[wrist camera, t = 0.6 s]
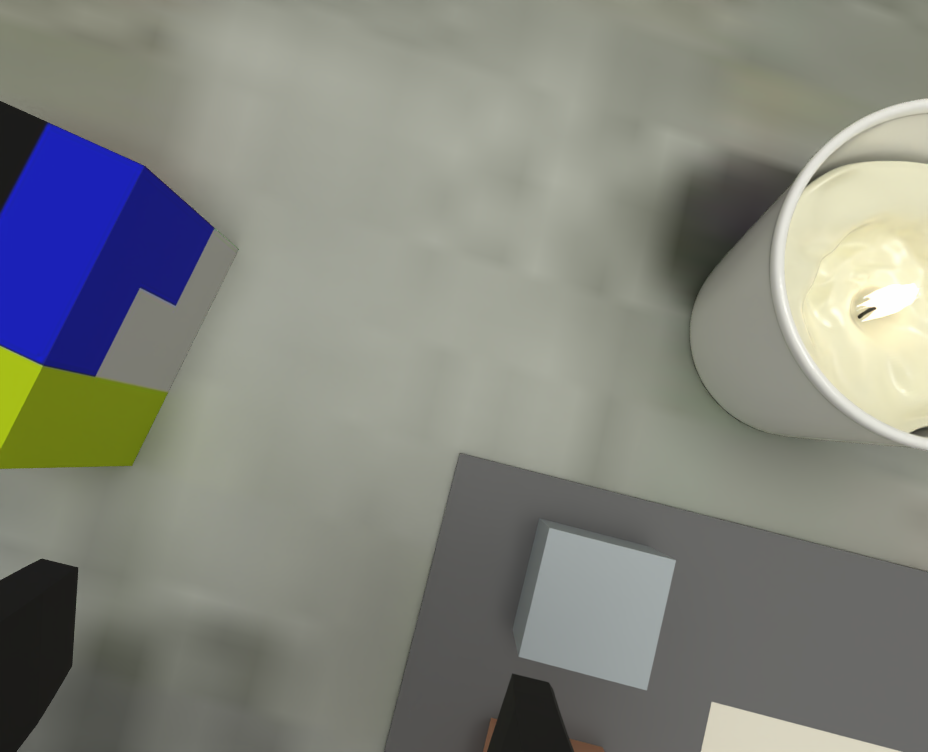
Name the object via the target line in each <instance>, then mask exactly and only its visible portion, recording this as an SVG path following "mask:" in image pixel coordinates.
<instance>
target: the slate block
mask: <svg viewBox="0 0 928 752" xmlns="http://www.w3.org/2000/svg"><path fill="white" fill-rule="evenodd" d="M675 563H676V560H674V559H672V558H670V557H668V556H666V555H664V554H663V553H661V552H659V551H657V550H655V549H653V548H651V547H649V546H645V545H641V544H637V543H633V542H630V541H626V540H622V539H618V538H614V537H610V536H606V535H602V534H598V533H594V532H591V531H587V530H583V529H579V528H575V527H571V526H567V525H563V524H559V523H555V522H552V521H548V520H544V519H540V518H539V522H538V526H537V530H536V534H535V538H534V542H533V546H532V551H531V555H530V559H529V563H528V567H527V571H526V575H525V580H524V584H523V588H522V592H521V596H520V600H519V604H518V609H517V613H516V617H515V621H514V625H513V634H514V638H515V643H516V647H517V652H518V656H519V657H522V658H525V659H529V660H533V661H537V662H541V663H544V664H548V665H552V666H556V667H560V668H563V669H567V670H571V671H575V672H579V673H582V674H586V675H590V676H594V677H598V678H601V679H605V680H609V681H613V682H617V683H620V684H624V685H628V686H632V687H636V688H639V689H643V690H647V687H648V683H649V678H650V674H651V670H652V665H653V661H654V656H655V652H656V647H657V643H658V638H659V634H660V629H661V625H662V621H663V616H664V612H665V607H666V603H667V598H668V594H669V589H670V585H671V580H672V576H673V572H674V567H675Z"/></svg>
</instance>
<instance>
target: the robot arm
mask: <svg viewBox="0 0 928 752" xmlns="http://www.w3.org/2000/svg"><path fill="white" fill-rule="evenodd" d="M77 580H78V567H74V566H70V565H66V564H62V563H57V562H53V561H49V560H45V559H40V560H38V561H36V562H34V563H32V564H30V565H28V566H26V567H24V568H22V569H21V570H19V571H17V572H15V573H13V574H11V575H9V576H7V577H6V578H4V579H2V580H0V752H16V751H17V750H18V749H19V747H20V746H21V745H22V744H23V742H24V741H25V740H26V738H27V737H28V736H29V734H30V733H31V732H32V730H33V729H34V728H35V726H36V725H37V724H38V722H39V720H40V719H41V717H42V716H43V714H44V712H45V711H46V709H47V707H48V706H49V704H50V703H51V701H52V699H53V698H54V696H55V694H56V693H57V691H58V689H59V687H60V686H61V684H62V682H63V681H64V679H65V677H66V675H67V674H68V672H69V670H70V669H71V667H72V659H73V643H74V627H75V612H76V596H77ZM487 752H574V750H573V747H572V744H571V741H570V739H569V736H568V733H567V730H566V728H565V725H564V722H563V719H562V716H561V713H560V710H559V707H558V703H557V700H556V697H555V694H554V690H553V688H552V687H551V685H550V683H549V682H546V681H541V680H537V679H533V678H529V677H525V676H521V675H517V674H513V673H512V676H511V679H510V682H509V685H508V688H507V691H506V694H505V697H504V700H503V703H502V706H501V709H500V713H499V716H498V719H497V722H496V725H495V728H494V731H493V734H492V737H491V740H490V743H489V747H488V750H487Z"/></svg>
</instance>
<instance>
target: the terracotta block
mask: <svg viewBox="0 0 928 752" xmlns="http://www.w3.org/2000/svg"><path fill="white" fill-rule="evenodd" d="M496 722H497V719H494V718H491V720H490V724H489V729H488V733H487V737H486V741H485V745H484V749H483V752H487V750H488V747H489V743H490V740H491V737H492V734H493V731H494V728H495V725H496ZM569 739H570V738H569ZM570 741H571V744H572V747H573V750H574V752H604V749H603V747H600V746H596V745H592V744H588V743H585V742H581V741H577V740H573V739H570Z"/></svg>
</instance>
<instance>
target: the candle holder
mask: <svg viewBox="0 0 928 752" xmlns="http://www.w3.org/2000/svg"><path fill="white" fill-rule="evenodd" d="M690 345H691V352H692V356H693V360H694V364H695V366H696V369H697V372H698V374H699V376H700V378H701V380H702V382H703V384H704V385H705V387H706V389H707V390H708V392H709V393H710V394H711V396H712V397H713V398H714V399H715V400H716V401H717V403H718V404H719V405H720V406H721V407H722V408H724V409H725V410H726V411H727V412H728V413H729V414H731V415H732V416H734V417H735V418H736V419H738V420H740V421H741V422H743V423H745V424H747V425H749V426H751V427H753V428H755V429H758V430H760V431H763V432H767V433H770V434H774V435H779V436H785V437H792V438H801V439H812V440H823V441H835V442H847V443H859V444H871V445H884V446H896V447H908V448H916V449H920V450H925V451H928V98H927V99H919V100H913V101H908V102H904V103H900V104H896V105H893V106H890V107H887V108H884V109H881V110H878V111H876V112H874V113H871V114H869V115H867V116H865V117H863V118H861V119H859V120H858V121H856V122H854V123H852V124H851V125H849V126H848V127H846V128H845V129H843V130H842V131H840V132H839V133H838V134H836V135H835V136H834V137H833V138H831V139H830V140H829V141H828V142H827V143H826V144H824V145H823V146H822V147H821V148H820V149H819V150H818V151H817V152H816V153H815V154H814V156H813V157H812V158H811V159H810V160H809V161H808V162H807V164H806V165H805V166H804V168H803V169H802V170H801V172H800V173H799V175H798V176H797V178H796V179H795V180H794V181H793V182H792V183H791V184H790V186H789V187H788V188H787V189H786V190H785V191H784V192H783V193H782V194H781V195H780V196H779V197H778V199H777V200H776V201H775V202H774V203H773V204H772V205H771V206H770V207H769V208H768V209H767V210H766V211H765V213H764V214H763V215H762V216H761V217H760V218H759V219H758V220H757V221H756V222H755V223H754V224H753V226H752V227H751V228H750V229H749V230H748V231H747V232H746V233H745V234H744V235H743V236H742V237H741V238H740V240H739V241H738V242H737V243H736V244H735V245H734V246H733V247H732V248H731V249H730V250H729V252H728V253H727V254H726V255H725V256H724V257H723V258H722V259H721V261H720V262H719V263H718V264H717V265H716V266H715V268H714V269H713V270H712V272H711V273H710V274H709V276H708V277H707V279H706V280H705V282H704V283H703V285H702V287H701V289H700V291H699V293H698V295H697V298H696V300H695V303H694V307H693V310H692V315H691V321H690Z"/></svg>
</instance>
